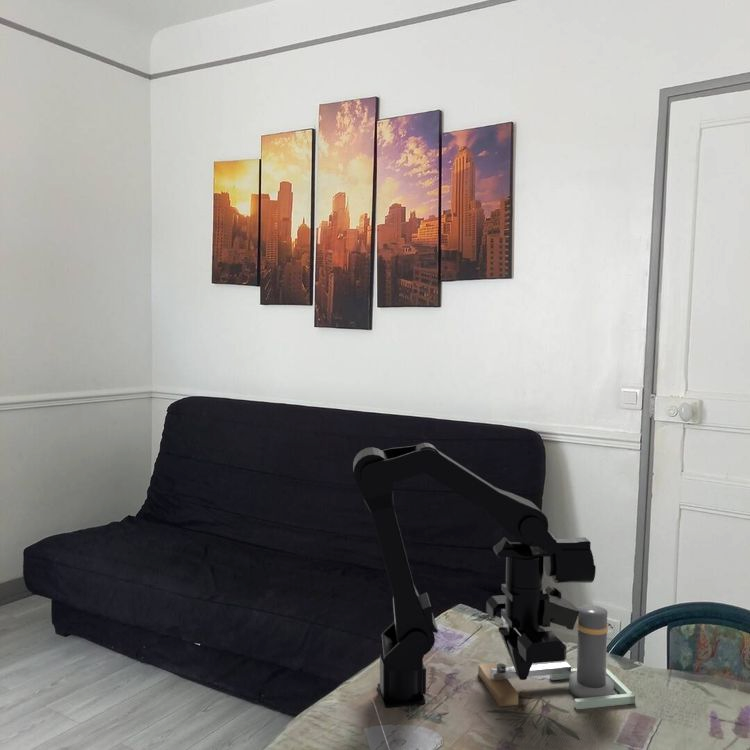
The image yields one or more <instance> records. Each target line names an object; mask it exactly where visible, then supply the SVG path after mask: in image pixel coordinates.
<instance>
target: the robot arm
mask: <svg viewBox="0 0 750 750" xmlns="http://www.w3.org/2000/svg"><path fill="white" fill-rule="evenodd" d="M352 470H353V473H352V474H353V479H354V482H355V485H356V487H357V489H358V491H359V493H360V496H361V497H362V499H363V501H364V503H365V505H366V507H367V509H368V511H369V512H370V515H371V517H372V523H373V525H374V529H375V532H376V537H377V541H378V545H379V548H380V552H381V557H382V560H383V563H384V567H385V571H386V575H387V579H388V582H389V586H390V590H391V594H392V608H393V618H394V619H393V620H394V621H393V622H392V623H391V624H390V625H389V626H388V627H387V628H386V629H385V630H384V631H383V632H381V641H382V642H381V643H382V652H383V653H381V654H379V682H378V683H377V690H378V693H379V695H380V699H381V701H382V703H383V707H384V708H386V709H387V708H398V707H399V708H400V707H405V706H406V707H408V706H415V705H416V706H418V705H425V704H426V702H427V701H426V697H425V695H426V693H427V668H426V666H425V665H424V661H423V659H424V657H425V655H427V654H428V653H429V652H431V651H432V648H434V645H435V641H436V640H435V633H436V634H437V633H439V630H438V627H437V623H436V619H435V616H434V613H433V609H432V604H431V602H430V597H429V594H428V592H426V591H425V592H424V593H422V594H419V592H418V590H417V588H416V586H415V584H414V579H413V576H412V572H411V569H410V564H409V561H408V556H407V552H406V549H405V545H404V541H403V537H402V534H401V530H400V527H399V522H398V519H397V514H396V511H395V501H394V500H395V499H394V483H399V482H403V481H406V480H408V479H410V478H413V477H417V476H419V475H422V474H423V475H424V474H427V475H429V476H431V477H432V478H434V479H436V480H437V481H438V482H440V483H441V484H443V485H445V486H446V487H448V488H449V489H451V490H453V491H454V492H456V494H458V495H460V496H461V497H463V498H465V499H466V500H468V501H469V502H471V503H473V504H475V505H476V506H477V507H479V508H480V509H481V510H484V511H485V512H486V513H488V515H489V516H491V518H493V519H494V520H495V521H496V522H497V523H498V524H499V525H500V526H501V527H502V528H503V529H504V530H505V531H506V532H507V533H509V535H511V536H512V538H513V539H515V540H516V541H517V542H512V541H511V542H510V541H509V540H508V539H507V538H506V537H505V536H504V537H502V538H501V540H500V541H499V542H498V543H496V544H495V545H494V546H493V547H492V548H493V552H494V553H495V555H496V556H497V557H498V558H505V559H506V560H505V561H506V562H505V583H501V588H500V589H501V592H502V593H503V594H504V595H491V596H490V597H489V598H488V600H486V605H485V606H486V609H485V610H486V611H485V612H486V614H487V615H488V616H489V618H490V619H495V618H496V617H497V612H498V613H500V616H501V620H502V621H503V622H502V623H503V624H502V627H501V626H500V627H498V633H499V634H500V637H501V639H502V640H503V643H504V646H505V648H506V650H507V653H508V655H509V658H510V661H511V663H512V665H513V667H514V668H515V670H516V673H517V675H518V677H519V678H518V679H519V680H520V681H526V680H527V679H528V678H529V677H528V674H529V671H530V669H531V666H532V665H533V664H541V663H542V664H544V663H556V662H566V659H567V647H568V646H567V645H566V644H565V643H564V642H563V640H561V639H560V638H559V637H558V635H556V634H555V633H554V632H553V631H552V630H545V629H544V628H549V627H551V624H555V625H558V626H561V627H564V628H566V629H567V630H571V631H573V630H574V628H575V625H576V623H577V620H578V614H579V612H580V611H579V610H578V608H577V606H575V605H574V604H573V603H572V602H570V601H569V600H567V599H566V598H565V597H562V591H560V590H559V589H558V588H557V587H555V586H552V585H548V586H547V587H546V588H545V589H544V571H545V574H546V576H547V577H551V579H552V582H553V583H555V584H571V583H572V584H579V583H580V584H582V583H583V584H586V583H587V584H588V583H589V584H591V583H594V580H595V578H596V567H597V566H596V564H595V561H594V555H593V552H592V549H591V541H590V540H589V539H588V538H587V537H584V536H583V537H575V538H556V537H555V536H554V535H553V534H552V533H551V532H550V531H549V521H548V518H547V516H546V515H545V514H544V512H542V510H541V509H540V508H539V507H538V506H537V505H536V504H535V503H533V502H532V500H530V499H526V498H525V497H522V496H520V495H518V494H514V493H512V492H509V491H506V490H503V489H500V488H498V487H496V486H494V485H493V484H491V483H489V482H487V481H486V480H484V479H483V478H481V477H480V476H478V475H477V474H475V473H473V472H472V471H471V470H469V469H468V468H466V467H464V466H463V465H461V464H460V463H458V462H457V461H455V460H453V459H452V458H451V457H449V456H447V455H446V454H445V453H443V452H441V451H440V450H438V449H437V448H436V446H434V445H433V444H431V443H429V442H421V443H418V444H414V445H409V446H407V445H406V446H400V447H399V446H397V447H390V448H386V449H382V450H381V449H380V448H377V447H372V446H371V447H365V448H364V449H361V450H360V451H359V452H358V453H356V455H355V456H354V459H353V465H352ZM531 545H535V546H531Z"/></svg>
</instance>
